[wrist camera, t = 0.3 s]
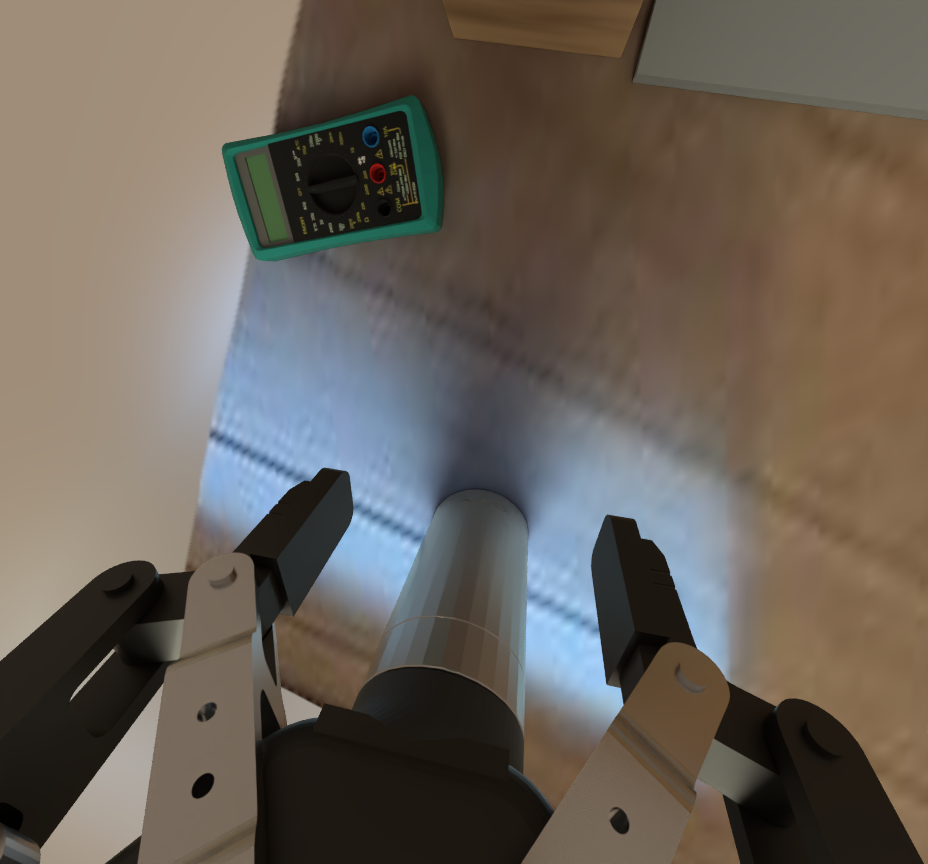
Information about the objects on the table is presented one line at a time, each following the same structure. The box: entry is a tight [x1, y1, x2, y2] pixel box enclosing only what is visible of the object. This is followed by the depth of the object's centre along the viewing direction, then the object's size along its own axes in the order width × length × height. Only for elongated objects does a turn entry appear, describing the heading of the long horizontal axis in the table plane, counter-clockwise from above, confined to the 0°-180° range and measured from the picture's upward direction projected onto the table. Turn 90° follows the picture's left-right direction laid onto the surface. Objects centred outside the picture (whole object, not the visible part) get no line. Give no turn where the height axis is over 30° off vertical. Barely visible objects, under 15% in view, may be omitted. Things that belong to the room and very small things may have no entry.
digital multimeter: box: [222, 95, 443, 261], centre depth 26 cm, size 7×15×3 cm, turn 98°
